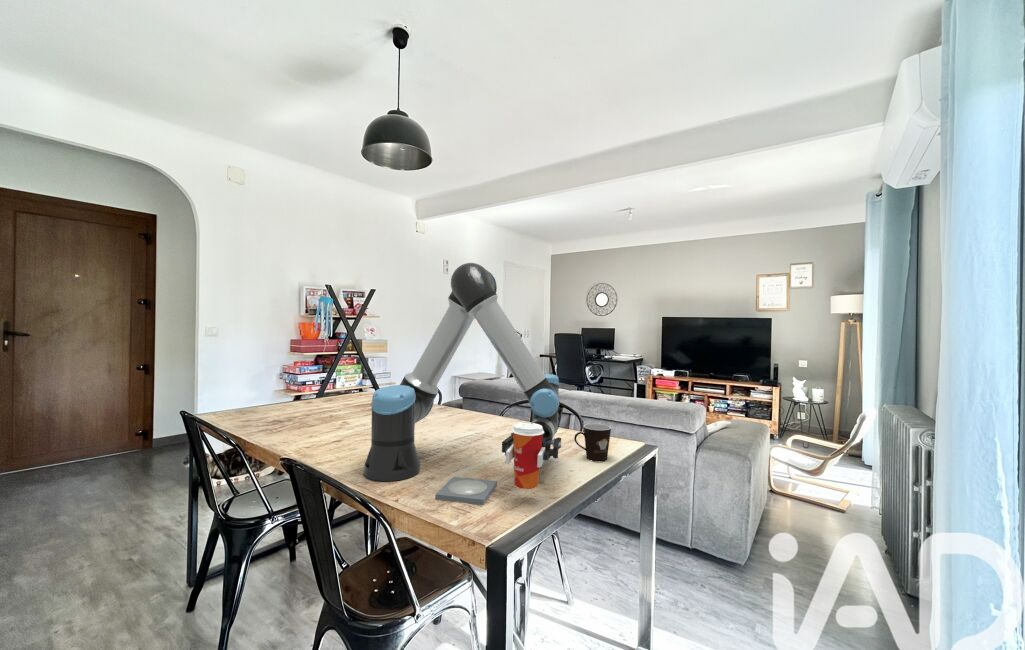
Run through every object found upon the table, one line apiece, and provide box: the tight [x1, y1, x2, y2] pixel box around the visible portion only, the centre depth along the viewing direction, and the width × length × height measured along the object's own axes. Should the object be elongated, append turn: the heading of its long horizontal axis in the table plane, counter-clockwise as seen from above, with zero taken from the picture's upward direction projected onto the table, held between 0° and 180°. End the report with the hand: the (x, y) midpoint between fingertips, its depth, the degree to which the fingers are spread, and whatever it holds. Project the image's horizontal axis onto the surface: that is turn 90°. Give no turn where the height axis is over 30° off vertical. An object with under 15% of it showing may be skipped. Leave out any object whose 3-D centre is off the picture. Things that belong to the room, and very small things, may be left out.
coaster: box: [434, 476, 498, 506], centre depth 103 cm, size 12×12×1 cm
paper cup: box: [511, 422, 544, 490], centre depth 99 cm, size 8×8×14 cm
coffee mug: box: [573, 423, 612, 462], centre depth 132 cm, size 12×9×10 cm
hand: (523, 459), depth 94 cm, fingers closed on paper cup, 7 cm apart
